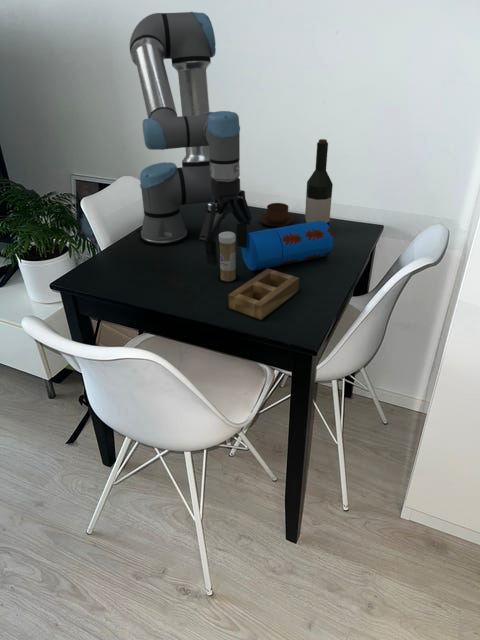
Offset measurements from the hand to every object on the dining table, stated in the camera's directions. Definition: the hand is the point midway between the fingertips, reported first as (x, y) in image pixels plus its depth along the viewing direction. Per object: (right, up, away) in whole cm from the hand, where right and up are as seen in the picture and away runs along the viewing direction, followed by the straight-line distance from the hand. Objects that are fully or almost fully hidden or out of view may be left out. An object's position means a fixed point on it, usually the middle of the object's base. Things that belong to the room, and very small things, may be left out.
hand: (227, 254), depth 140 cm
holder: (+10, -13, -6) cm, 17 cm away
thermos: (+29, +7, +14) cm, 33 cm away
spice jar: (0, -6, +4) cm, 8 cm away
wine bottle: (+29, +12, +32) cm, 45 cm away
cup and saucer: (+17, +16, +39) cm, 45 cm away
